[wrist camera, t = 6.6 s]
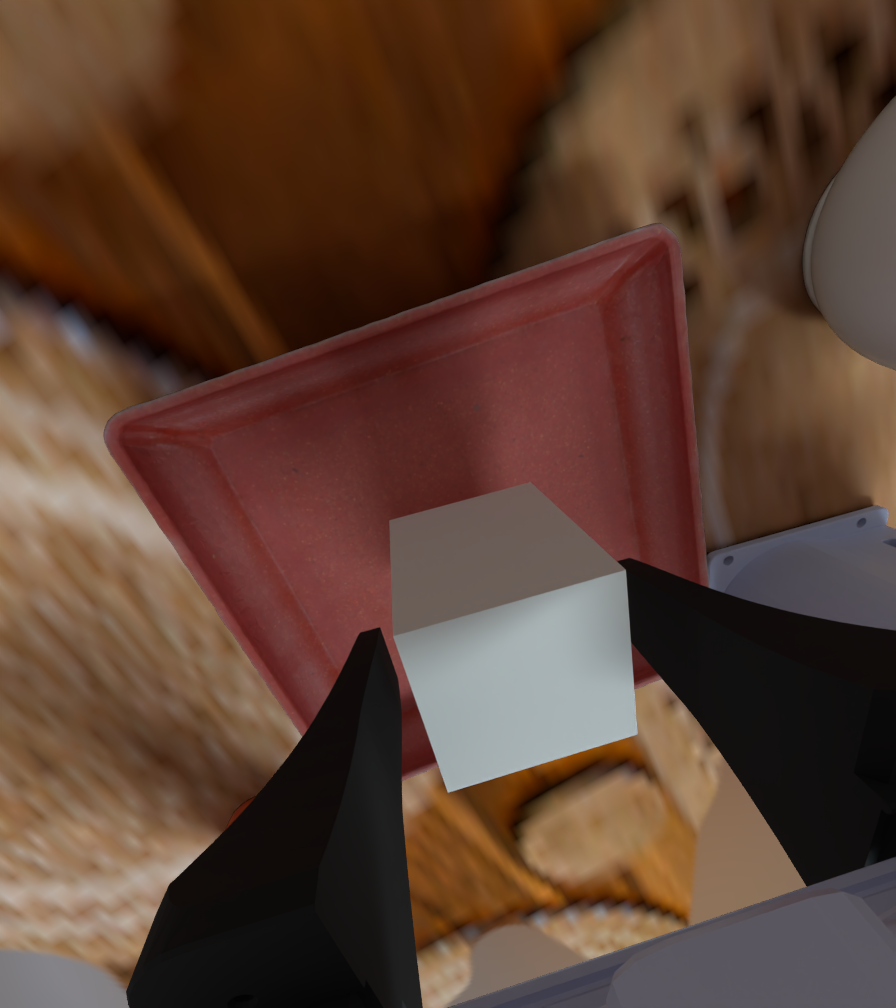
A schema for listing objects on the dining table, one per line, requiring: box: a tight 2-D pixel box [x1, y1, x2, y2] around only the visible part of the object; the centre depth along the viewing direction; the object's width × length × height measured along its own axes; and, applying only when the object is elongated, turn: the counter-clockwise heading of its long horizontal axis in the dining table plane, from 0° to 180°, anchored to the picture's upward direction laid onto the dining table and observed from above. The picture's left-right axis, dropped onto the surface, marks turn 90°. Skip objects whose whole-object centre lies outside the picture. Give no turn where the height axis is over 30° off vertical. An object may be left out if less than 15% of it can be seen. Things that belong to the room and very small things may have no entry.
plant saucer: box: [104, 223, 709, 781], centre depth 17 cm, size 18×18×3 cm
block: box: [389, 482, 637, 792], centre depth 12 cm, size 5×5×6 cm
